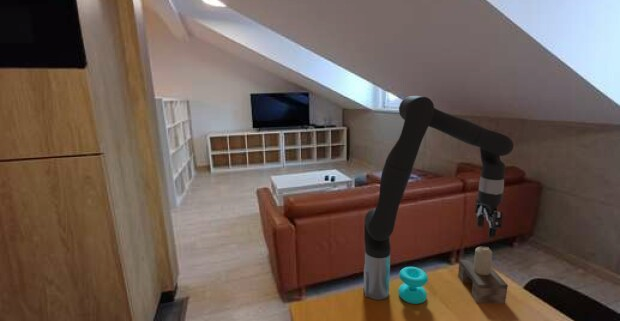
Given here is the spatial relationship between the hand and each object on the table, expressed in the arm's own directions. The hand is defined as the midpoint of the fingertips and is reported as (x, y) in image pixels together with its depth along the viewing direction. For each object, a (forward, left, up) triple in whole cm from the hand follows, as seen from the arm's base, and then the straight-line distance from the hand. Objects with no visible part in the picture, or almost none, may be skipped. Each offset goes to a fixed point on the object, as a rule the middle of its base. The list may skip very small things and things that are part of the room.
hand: (485, 231), depth 111 cm
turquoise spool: (-27, -5, -24) cm, 37 cm away
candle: (0, 0, -17) cm, 17 cm away
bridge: (0, 0, -24) cm, 24 cm away
